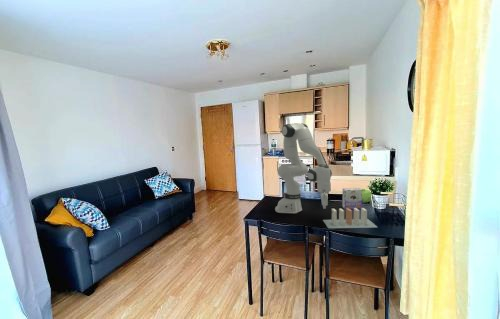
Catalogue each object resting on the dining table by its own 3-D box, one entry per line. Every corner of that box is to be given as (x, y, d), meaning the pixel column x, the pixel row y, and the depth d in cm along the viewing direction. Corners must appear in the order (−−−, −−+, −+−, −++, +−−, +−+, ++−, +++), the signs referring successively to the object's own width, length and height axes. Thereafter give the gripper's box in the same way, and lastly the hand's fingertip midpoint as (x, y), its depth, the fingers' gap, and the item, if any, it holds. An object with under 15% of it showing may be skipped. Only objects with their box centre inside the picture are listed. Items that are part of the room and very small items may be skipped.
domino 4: (356, 224, 151) (356, 210, 150) (353, 221, 156) (353, 208, 155) (359, 224, 151) (359, 210, 150) (356, 221, 156) (356, 208, 155)
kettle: (374, 204, 190) (375, 191, 189) (356, 203, 193) (357, 191, 192) (369, 198, 204) (370, 187, 203) (353, 198, 208) (353, 186, 206)
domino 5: (364, 224, 151) (364, 210, 150) (360, 221, 156) (361, 207, 155) (366, 224, 151) (367, 210, 149) (363, 221, 156) (363, 207, 154)
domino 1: (333, 225, 152) (334, 211, 151) (331, 222, 157) (331, 208, 156) (336, 225, 152) (336, 211, 151) (334, 222, 157) (334, 208, 156)
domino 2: (341, 225, 152) (341, 211, 151) (338, 222, 157) (339, 208, 156) (344, 225, 152) (344, 211, 150) (341, 222, 157) (341, 208, 155)
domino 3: (349, 224, 151) (349, 210, 150) (345, 222, 156) (345, 208, 155) (352, 224, 152) (352, 210, 150) (348, 221, 157) (348, 208, 155)
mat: (328, 228, 148) (328, 228, 148) (322, 220, 162) (322, 219, 162) (377, 228, 146) (377, 227, 146) (367, 219, 160) (368, 218, 160)
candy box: (359, 206, 186) (359, 187, 184) (362, 209, 180) (362, 189, 178) (342, 207, 187) (342, 188, 185) (344, 209, 182) (344, 189, 179)
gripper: (329, 192, 141) (330, 213, 142) (328, 185, 160) (328, 203, 162) (319, 192, 143) (320, 212, 144) (318, 184, 162) (319, 203, 164)
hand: (324, 207), depth 153 cm, fingers closed
